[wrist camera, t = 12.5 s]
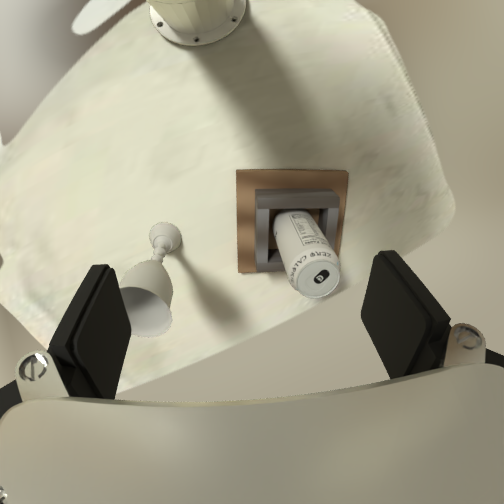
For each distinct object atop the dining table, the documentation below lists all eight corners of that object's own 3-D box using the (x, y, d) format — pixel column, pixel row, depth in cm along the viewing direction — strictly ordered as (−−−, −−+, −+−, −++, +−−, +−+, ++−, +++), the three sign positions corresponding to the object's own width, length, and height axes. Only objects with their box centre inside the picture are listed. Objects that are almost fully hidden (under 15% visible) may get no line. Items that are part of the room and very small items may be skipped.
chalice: (196, 230, 46) (183, 306, 30) (177, 264, 49) (159, 346, 33) (152, 208, 44) (116, 275, 28) (136, 244, 46) (99, 319, 31)
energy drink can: (262, 225, 45) (278, 284, 32) (291, 195, 43) (320, 244, 30) (291, 248, 47) (316, 311, 34) (319, 221, 46) (355, 275, 32)
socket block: (236, 169, 42) (237, 179, 38) (345, 170, 43) (359, 180, 39) (237, 268, 50) (239, 287, 45) (334, 264, 51) (343, 281, 46)
